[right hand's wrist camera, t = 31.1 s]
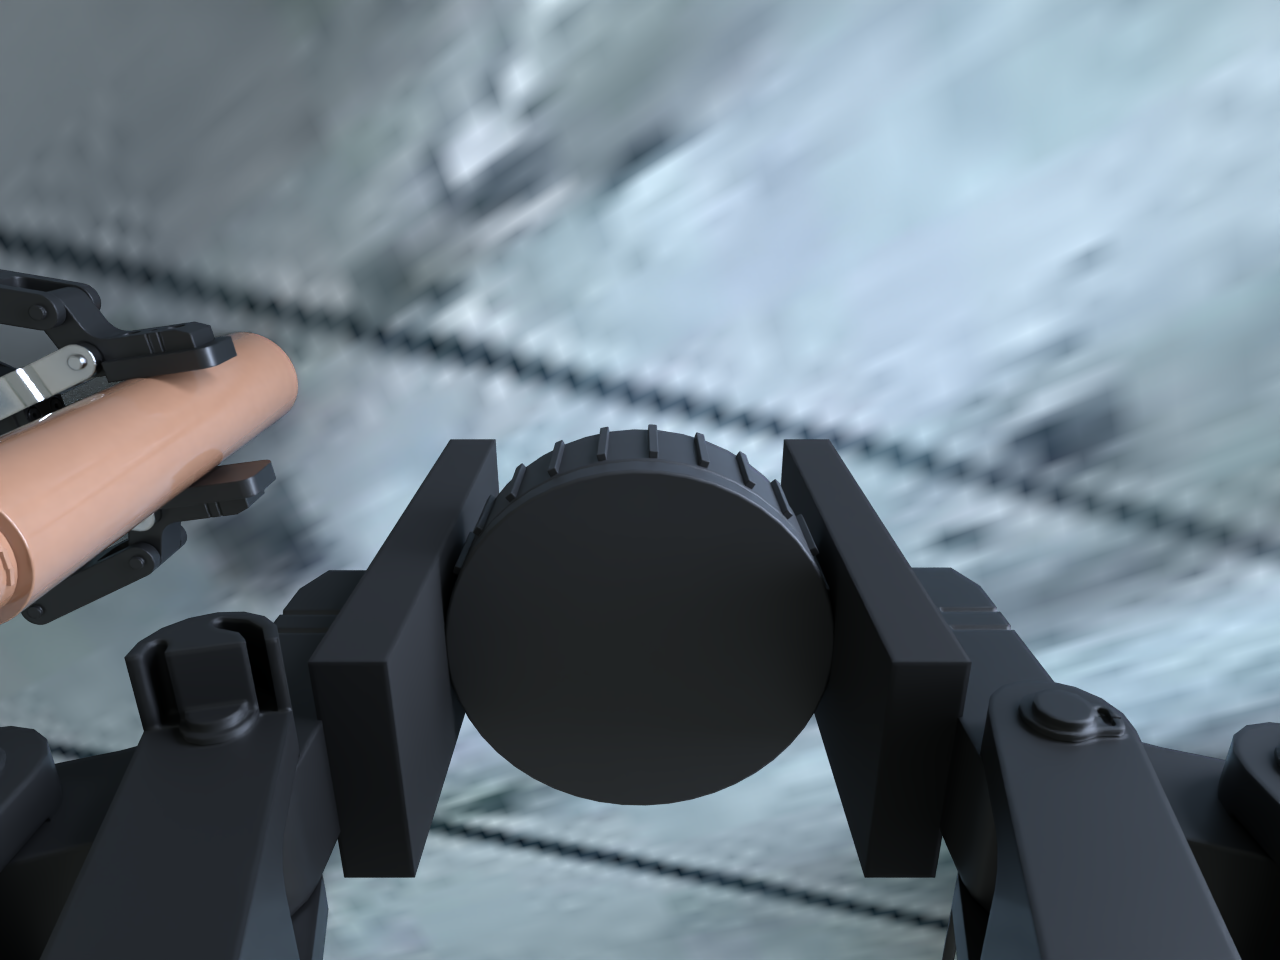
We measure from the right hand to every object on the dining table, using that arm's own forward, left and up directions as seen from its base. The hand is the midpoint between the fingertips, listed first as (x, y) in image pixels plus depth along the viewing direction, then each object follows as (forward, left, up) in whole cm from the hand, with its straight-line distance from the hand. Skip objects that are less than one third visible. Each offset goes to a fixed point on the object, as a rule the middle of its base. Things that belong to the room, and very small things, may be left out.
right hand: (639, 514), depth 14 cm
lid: (0, 0, +4) cm, 4 cm away
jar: (-3, +17, -22) cm, 28 cm away
